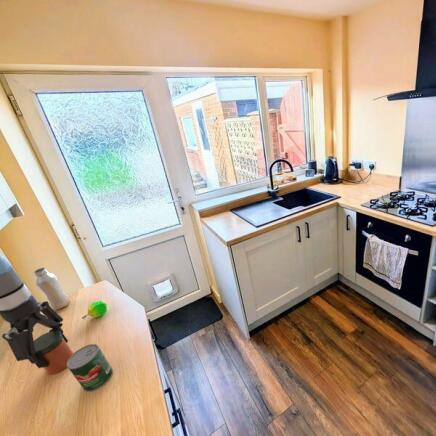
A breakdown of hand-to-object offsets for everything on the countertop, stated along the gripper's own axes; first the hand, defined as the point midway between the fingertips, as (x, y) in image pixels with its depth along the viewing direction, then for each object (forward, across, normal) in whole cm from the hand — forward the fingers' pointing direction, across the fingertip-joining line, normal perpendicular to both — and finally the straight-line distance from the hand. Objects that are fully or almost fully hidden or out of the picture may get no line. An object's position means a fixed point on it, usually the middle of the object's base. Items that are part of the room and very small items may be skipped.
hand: (54, 353), depth 82 cm
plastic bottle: (+5, -32, -21) cm, 39 cm away
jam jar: (+5, 0, 0) cm, 5 cm away
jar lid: (-6, 0, 0) cm, 6 cm away
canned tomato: (+5, +9, +17) cm, 20 cm away
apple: (+5, -21, 0) cm, 22 cm away
